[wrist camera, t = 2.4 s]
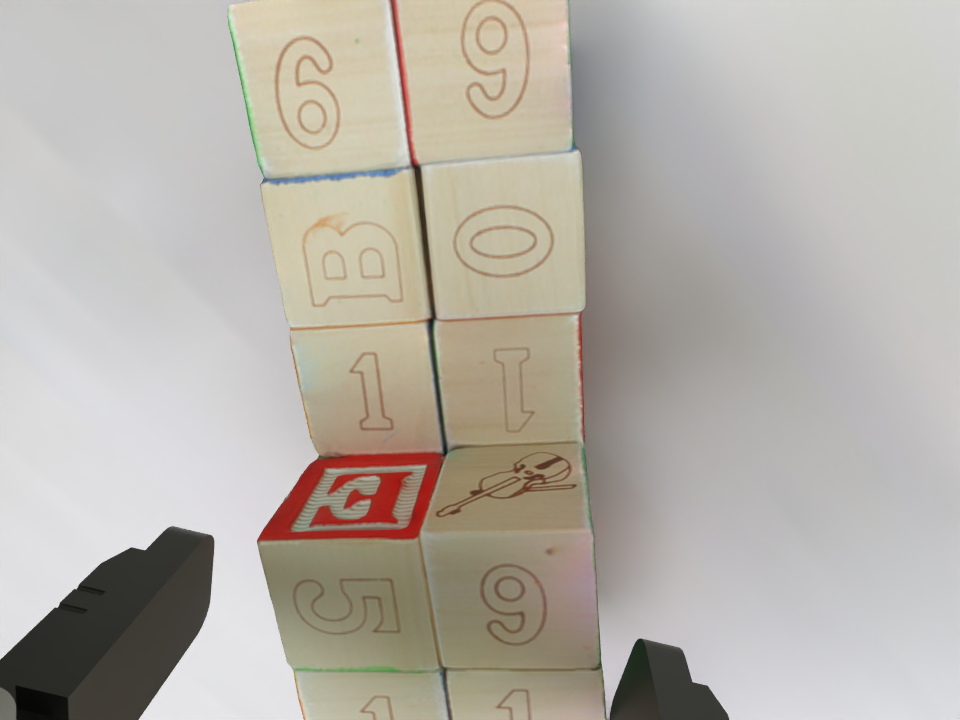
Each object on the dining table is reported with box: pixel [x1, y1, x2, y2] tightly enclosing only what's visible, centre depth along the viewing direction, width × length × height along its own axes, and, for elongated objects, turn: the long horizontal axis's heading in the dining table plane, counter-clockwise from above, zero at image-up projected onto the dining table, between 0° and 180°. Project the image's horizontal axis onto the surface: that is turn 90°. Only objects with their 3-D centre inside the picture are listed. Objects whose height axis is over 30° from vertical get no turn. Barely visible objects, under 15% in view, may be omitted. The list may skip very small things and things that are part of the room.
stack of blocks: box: [228, 0, 606, 720], centre depth 17 cm, size 21×6×12 cm, turn 5°
